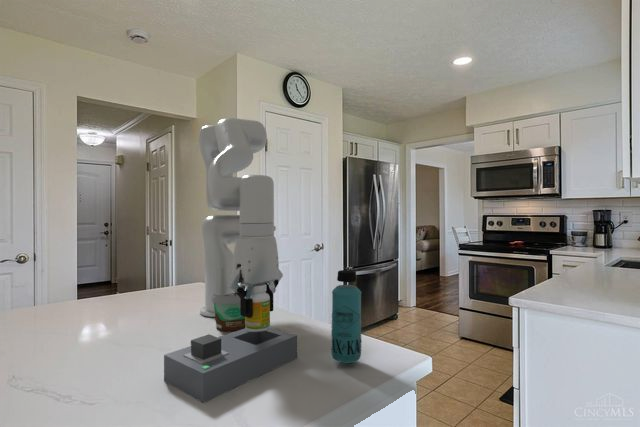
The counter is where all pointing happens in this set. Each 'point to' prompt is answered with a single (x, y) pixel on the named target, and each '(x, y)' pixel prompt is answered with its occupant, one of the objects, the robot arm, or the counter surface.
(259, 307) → the supplement bottle
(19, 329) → the counter surface
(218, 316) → the food container
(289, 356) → the control panel
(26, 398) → the counter surface
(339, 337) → the beverage bottle
